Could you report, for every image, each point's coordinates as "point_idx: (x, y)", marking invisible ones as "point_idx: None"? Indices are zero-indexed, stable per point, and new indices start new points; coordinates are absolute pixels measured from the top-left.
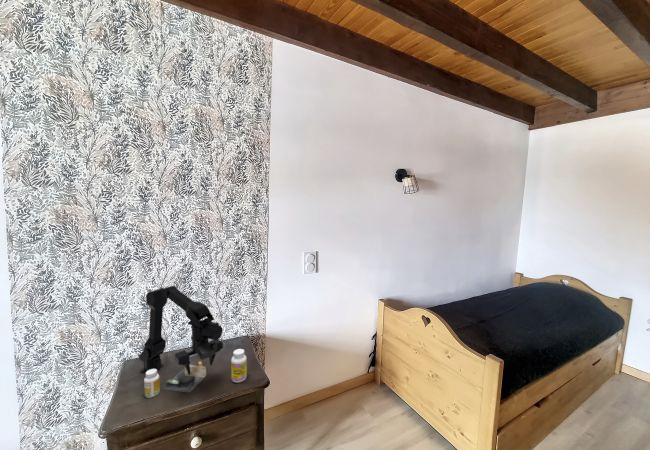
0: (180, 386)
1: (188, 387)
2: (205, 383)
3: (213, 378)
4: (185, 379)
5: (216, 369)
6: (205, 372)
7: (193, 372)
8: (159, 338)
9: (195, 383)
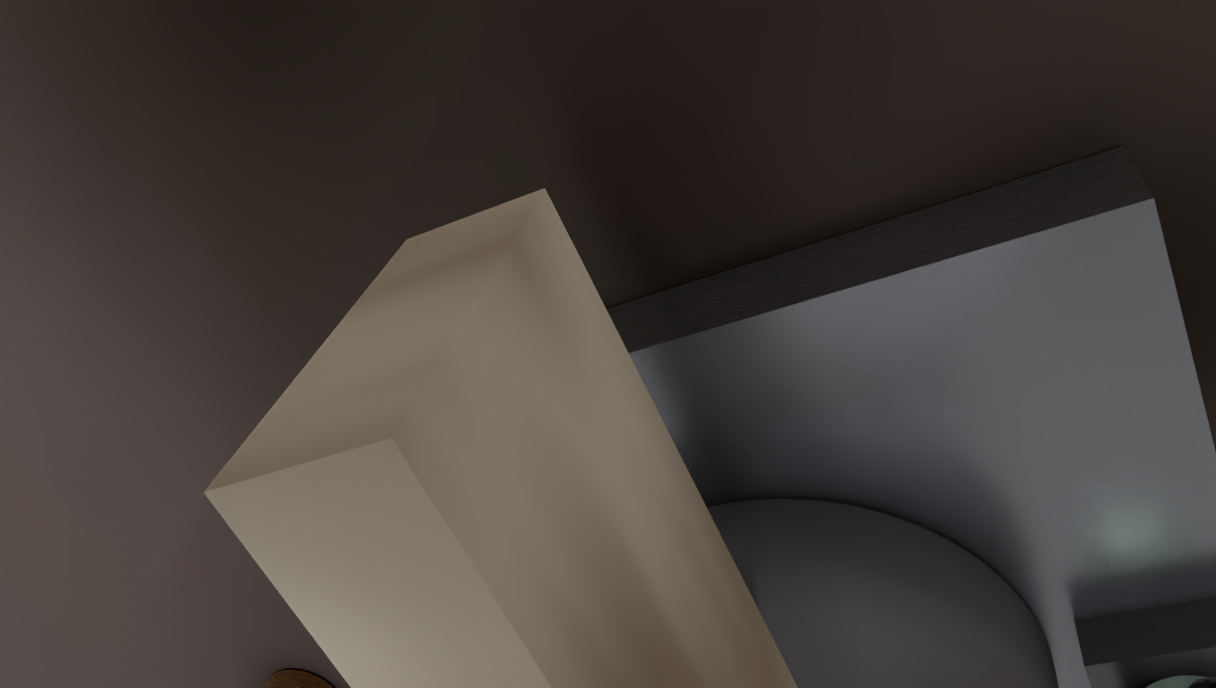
0: (1164, 570)
1: (1098, 327)
2: (533, 115)
3: (240, 107)
4: (988, 658)
5: (20, 368)
6: (377, 298)
7: (719, 683)
8: None
9: (814, 300)
